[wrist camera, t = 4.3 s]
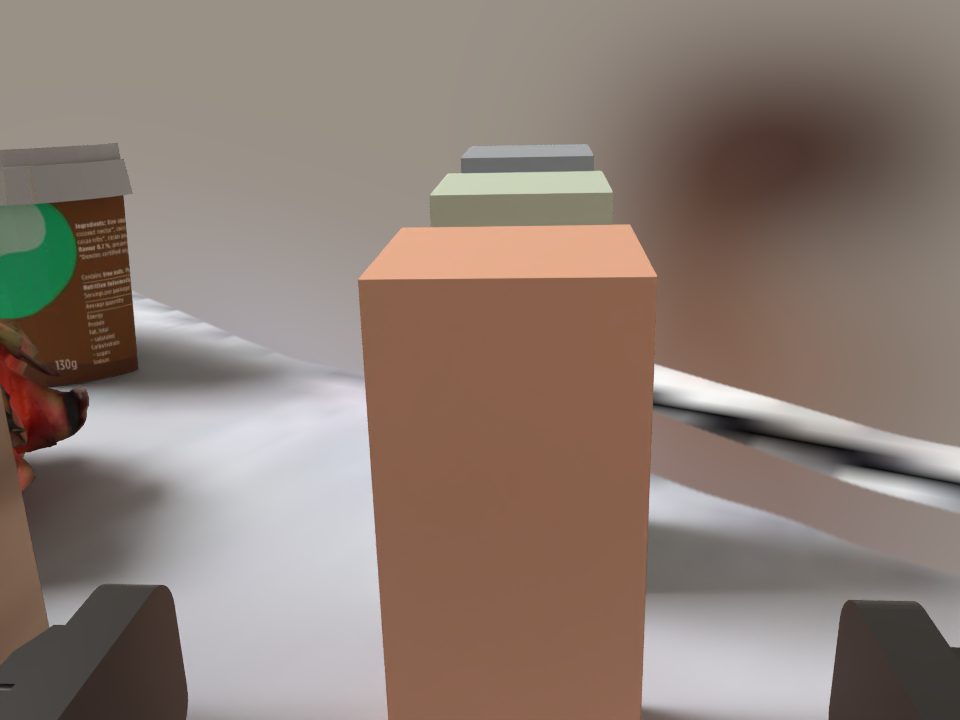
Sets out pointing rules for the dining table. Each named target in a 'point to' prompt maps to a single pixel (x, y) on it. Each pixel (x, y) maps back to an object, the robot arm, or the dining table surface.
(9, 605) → the walnut block
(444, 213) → the sage block
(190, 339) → the dining table surface
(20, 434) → the dragon fruit
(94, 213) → the food container
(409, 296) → the terracotta block
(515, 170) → the slate block
